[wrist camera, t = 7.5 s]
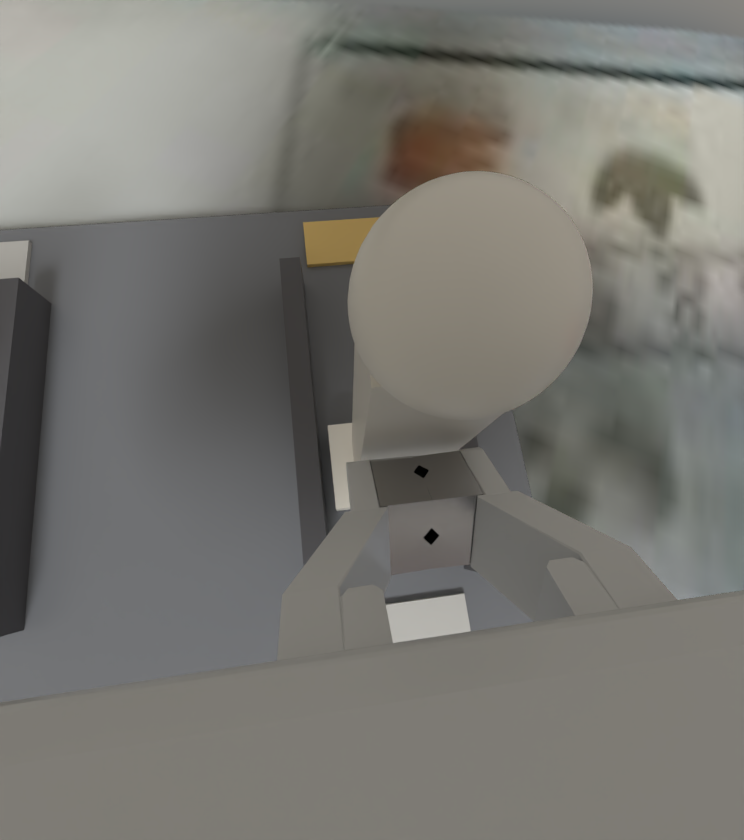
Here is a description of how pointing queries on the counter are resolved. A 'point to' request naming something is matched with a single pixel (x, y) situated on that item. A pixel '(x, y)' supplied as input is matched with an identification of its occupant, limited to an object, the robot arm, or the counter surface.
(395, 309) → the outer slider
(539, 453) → the counter surface
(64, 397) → the switch panel
